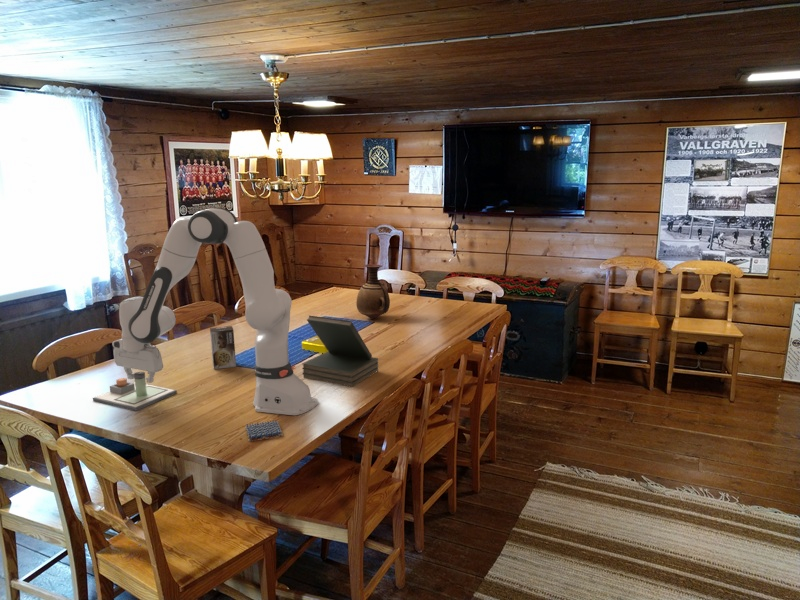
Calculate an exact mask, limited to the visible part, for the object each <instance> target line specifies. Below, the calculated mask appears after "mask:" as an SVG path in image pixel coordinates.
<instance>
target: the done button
mask: <svg viewBox="0 0 800 600" xmlns="http://www.w3.org/2000/svg"><path fill="white" fill-rule="evenodd" d="M127 379H128V378H126V377H125V378H124V377H121V378H118V379H116V380H115V382H116V383H115V384H117V387H124V386H126V385H127V382H128V380H127Z"/></svg>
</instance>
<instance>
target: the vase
mask: <svg viewBox="0 0 800 600" xmlns="http://www.w3.org/2000/svg"><path fill="white" fill-rule="evenodd" d="M364 267H365V268H366V269H367V271H368V279H367V281H366V283H364V284H362V286H361V287H360V289H359V290H358V293H357V297H356V310H357V311H358V313H359V314H362V316H366V317H368V318H370V319H371V318H375V319H376V318H378V317H380V316H382V315H385V314H387V313H388V311H389V310H390V305H391V300H390V294H389V291H388V288H387V287H386V286H385V283H382V282H380V281H379V276H378V272H379V269H380V268H381V267H383V265H381V264H375V263H370V264H369V263H368V264H364Z"/></svg>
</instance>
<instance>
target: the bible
mask: <svg viewBox="0 0 800 600" xmlns="http://www.w3.org/2000/svg"><path fill="white" fill-rule="evenodd" d="M306 321H307V322H308V324H309V326H310V327H311V328H312V330H313V332H314V333H315V334H316V336H317V335H318V337H319V338H320V340H321V341H322V343H323V344H324V346H325V347H326V348H327V350H328V352H326V353H323V354H319V355H317V356H316V357H313V358H311V359H308V360H306V361H305V362H303V363H302V364H301V365H302V368H301V369H302V371H303V372H302V375H303V378H304V379H309V380H314V381H318V382H323V383H329V384H333V385H334V384H335V385H339V386H345V387H349V386H350V388H353V387H355V386H357V385H358V384H360V383H361V382H363V381H365V380H366V379H368V378H369V377H368V376H370V375H371V376H373V375H374V374H373V373H375V372H376V371H378V372H379V358H378V357H373V355H372V353H371V352H370V350H369V348H368V346H367V344H366V343H365V341H364V340H363V338H362V336H361V335H360V333H359V331H358V330H357V328H356V327H355V325H354V323H353V321H352V320H347V319H339V318H338V319H337V318H331V317H330V318H329V317H323V316H315V315H309V314H308V318H307V319H306ZM376 373H377V372H376ZM376 373H375V374H376ZM372 374H373V375H372ZM371 376H370V377H371ZM367 377H368V378H367ZM365 378H366V379H365ZM364 379H365V380H364ZM362 380H363V381H362ZM360 381H361V382H360ZM359 382H360V383H359ZM354 385H355V386H354Z"/></svg>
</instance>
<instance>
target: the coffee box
mask: <svg viewBox="0 0 800 600" xmlns="http://www.w3.org/2000/svg"><path fill="white" fill-rule="evenodd" d="M209 331H210V335H209V336H210V344H211V357H212V359H211V360H212V367H213V370H219V369H227V368H228V369H229V368H234V367H235V368H236V367H237V359H236V357H237V356H236V348H235V335H234V333H235V331H234V328H233V326H232V325H229V326H226V325H225V326H218V327H210V328H209Z"/></svg>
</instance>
